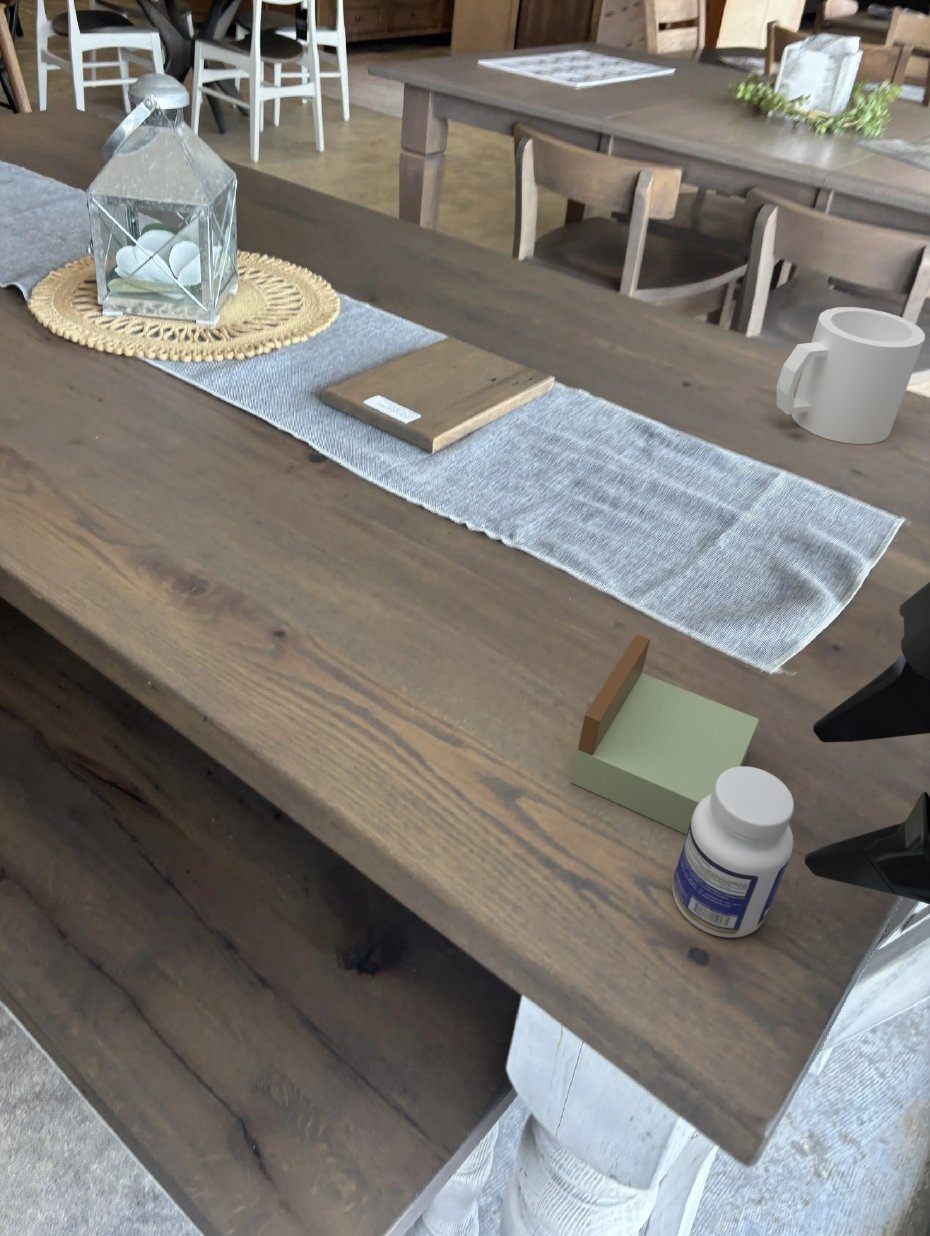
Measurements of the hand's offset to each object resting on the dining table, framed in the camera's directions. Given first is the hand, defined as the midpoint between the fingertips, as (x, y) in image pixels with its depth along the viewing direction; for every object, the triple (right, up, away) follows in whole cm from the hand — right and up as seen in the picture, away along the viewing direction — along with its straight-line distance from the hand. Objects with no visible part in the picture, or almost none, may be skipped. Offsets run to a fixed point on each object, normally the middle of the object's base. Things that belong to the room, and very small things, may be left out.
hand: (813, 795), depth 50 cm
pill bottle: (-3, -8, +7) cm, 10 cm away
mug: (+24, +26, +56) cm, 67 cm away
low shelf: (-4, -2, +15) cm, 15 cm away
